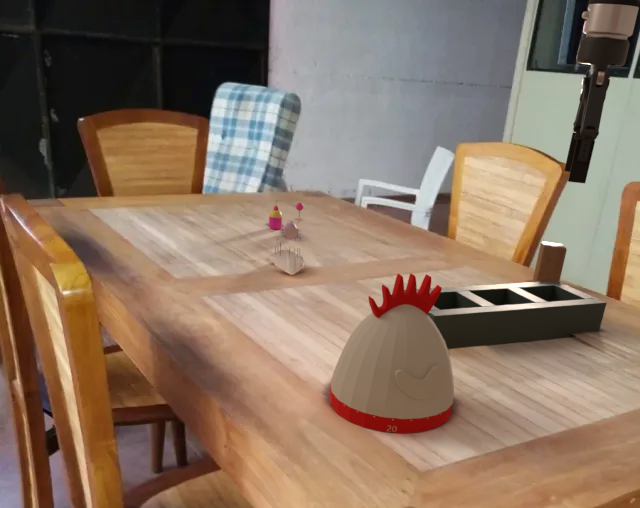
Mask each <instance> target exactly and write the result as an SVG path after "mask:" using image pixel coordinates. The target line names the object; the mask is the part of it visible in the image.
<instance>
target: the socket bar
mask: <svg viewBox="0 0 640 508" xmlns="http://www.w3.org/2000/svg"><path fill="white" fill-rule="evenodd" d="M434 288H435V287H431V288H430V293H431V292H432V291H433V289H434ZM419 289H420V288H417V292H418V291H419ZM405 290H406V289H404V293H405ZM607 304H608V303H607V301H604V300H602V299H600V298H598V297H595V296H592V295H591V294H588V293H585V292H583V291H581V290H579V289H577V288H574V287H572V286H570V285H568V284H565V283H563V282H560V281H559V282H558V281H542V282H532V281H529V282H511V283H496V284H495V283H494V284H480V285H479V284H478V285H477V284H476V285H461V286H445V287H442V290H441V292H440V294H439V297H438V298H437V300H436V302H435V303H434V305H433V307H432V309H431V310H430V312H429V314H428V316H429V317H430V318H431V319H432V321H433V322H434V323H435V325H436V326H437V328H438V330H439V331H441V335H442V337H443V339H444V340H445V343H446V346H447V349H448V350H451V349H453V350H455V349H463V348H475V347H483V346H494V345H505V344H514V343H524V342H533V341H545V340H553V339H563V338H565V339H566V338H574V337H576V335H575V334H577V333H578V334H580V333H589V332H599V331H600V329H601V327H602V322H603V319H604V314H605V312H606V311H605V310H606V308H607Z"/></svg>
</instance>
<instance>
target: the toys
mask: <svg viewBox="0 0 640 508" xmlns="http://www.w3.org/2000/svg"><path fill="white" fill-rule="evenodd" d="M275 203H277V199H275ZM279 209H280V208H279V206H278V205H274V206H273V209H272V210H271V211H270V212H269V215H268V227H269V229H271V230H281V229H282V228H283V233H284V236H285V239H288V240H290V241H291V240H295V239H296V238H297V236H298V235H299V229H298V227H297V225H296V222H295V221H293V220H291V219H288V220H286V221H284V223H283V214H282V212H281V210H279ZM295 209H296V210H297V211H298V216H297V217H298V218H297V223H298V224H299V223H300V219H301V211H302V210H303V209H304V204H303V203H302V202H297V203H296V205H295ZM295 237H296V238H295Z"/></svg>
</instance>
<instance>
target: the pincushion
mask: <svg viewBox="0 0 640 508" xmlns="http://www.w3.org/2000/svg"><path fill="white" fill-rule="evenodd" d="M296 238H297V237H295V238H294V239H296ZM301 238H302V237H299V240H301ZM277 239H279V237H278V238H277ZM279 246H280V248H279V249H277V247H274V249H275V250H274V251H272V252H271V253H270V255H269V257H268V259H269V260H270V262H271V263H272V264H274V266H275V267H276V268H277V269H279V270H282V271H283V272H285V273H287V274H289V275H290V276H291V275H293V276H294V275H295V274H296V273H298V272H300V270H302V269H304V267H305V258H304V257H303V256H302V254H301V250H299V249H294V250H292V249H291V248H281V247H282V243H280V245H279ZM296 250H297V251H296Z"/></svg>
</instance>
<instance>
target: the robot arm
mask: <svg viewBox="0 0 640 508" xmlns="http://www.w3.org/2000/svg"><path fill="white" fill-rule="evenodd" d="M639 9H640V0H588V6H587V10H586V11H583V12H582V14H581V18H582V19H586V20H585V21H584V24H583V29H582V33H583V34H585V37H582V38H581V39H580V41H579V46H578V50H577V55H576V62H577V63H578V64H581V65H590V68H589V70H587V71H586V73H585V76H583V78H582V82H581V91H580V94H579V103H578V107H577V112H576V116H575V120H574V122H573V128H572V130H573V132H572V135H571V139H570V144H569V148H568V153H567V156H566V160H565V161H566V162H565V164H564V165H565V166H564V169H563V170H564V172H569V175H568V179H567V183H578V184H586V181H587V177H588V173H589V169H590V164H591V161H592V156H593V152H594V148H595V143H596V139H597V138H598V137H599V134H600V131H599V130H600V125H601V120H602V114H603V110H604V105H605V101H606V97H607V93H608V92H607V91H608V90H609V87H610V83H611V79H610V78H611V71H608V69H609V67H623V66H624V65H625V64H626V62H627V61H626V60H627V57H628V52H629V49H630V42H629V40H628V38H629V37H631V36H633V34H634V30H635V25H636V22H637V16H638V13H639Z"/></svg>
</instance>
